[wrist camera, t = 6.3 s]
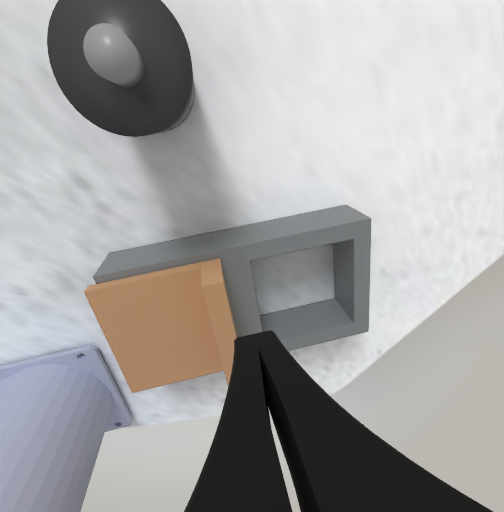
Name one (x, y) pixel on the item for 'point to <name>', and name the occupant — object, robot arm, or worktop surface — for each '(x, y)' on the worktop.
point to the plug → (122, 64)
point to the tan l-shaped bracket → (167, 324)
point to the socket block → (266, 245)
